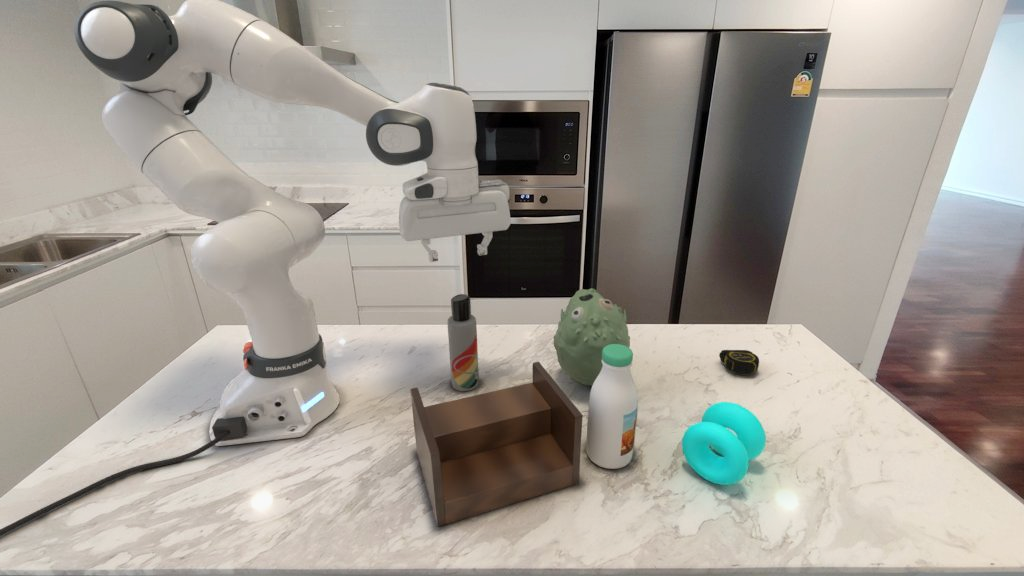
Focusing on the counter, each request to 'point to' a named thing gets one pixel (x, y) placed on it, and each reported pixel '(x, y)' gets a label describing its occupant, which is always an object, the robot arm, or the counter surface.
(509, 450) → the step rack
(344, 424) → the counter surface
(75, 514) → the counter surface
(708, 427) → the turquoise yo-yo
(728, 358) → the tape measure
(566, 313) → the green monster figurine
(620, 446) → the milk bottle
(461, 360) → the lotion bottle
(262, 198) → the robot arm
